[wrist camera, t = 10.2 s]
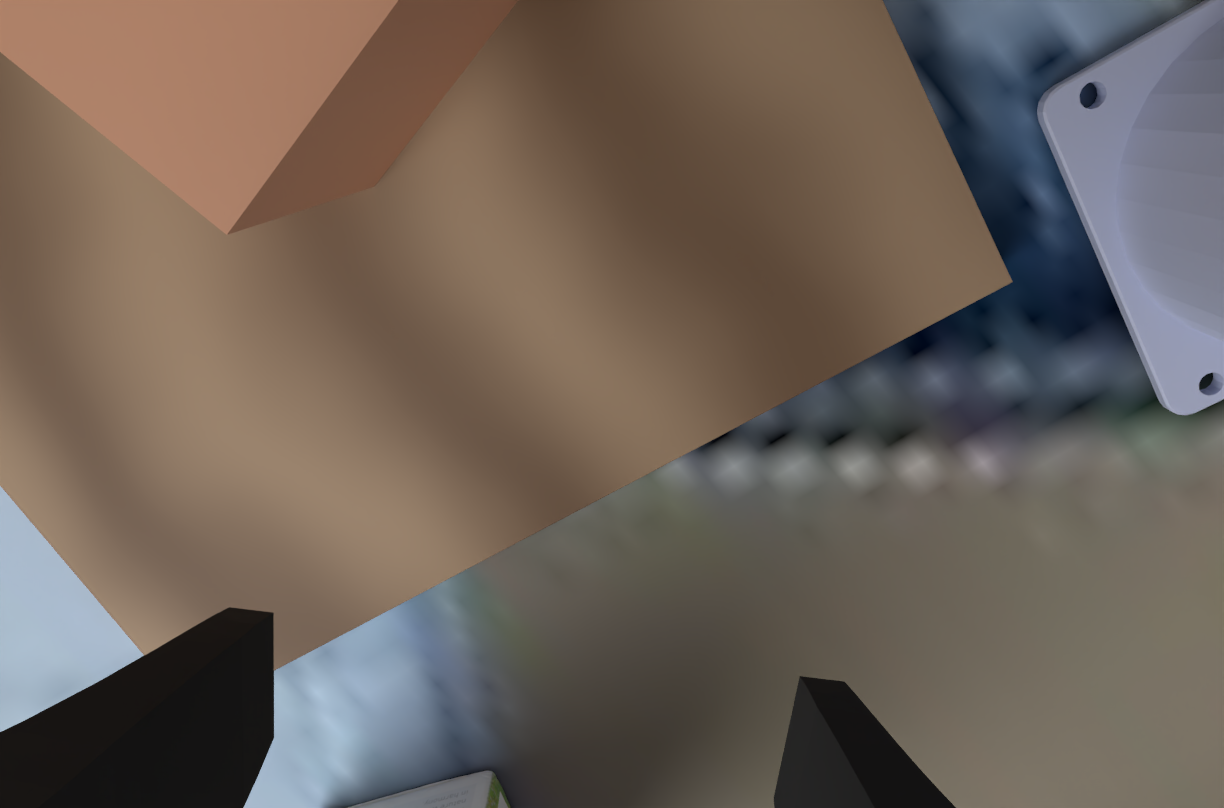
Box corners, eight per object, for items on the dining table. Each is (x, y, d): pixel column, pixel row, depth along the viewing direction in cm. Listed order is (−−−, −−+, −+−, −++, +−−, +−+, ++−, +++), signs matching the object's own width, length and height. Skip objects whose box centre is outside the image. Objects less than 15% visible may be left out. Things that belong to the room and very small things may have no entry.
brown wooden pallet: (563, -647, 16) (541, -843, 12) (991, 271, 20) (1057, 305, 17) (-307, 58, 20) (-493, 50, 16) (214, 684, 24) (148, 774, 21)
